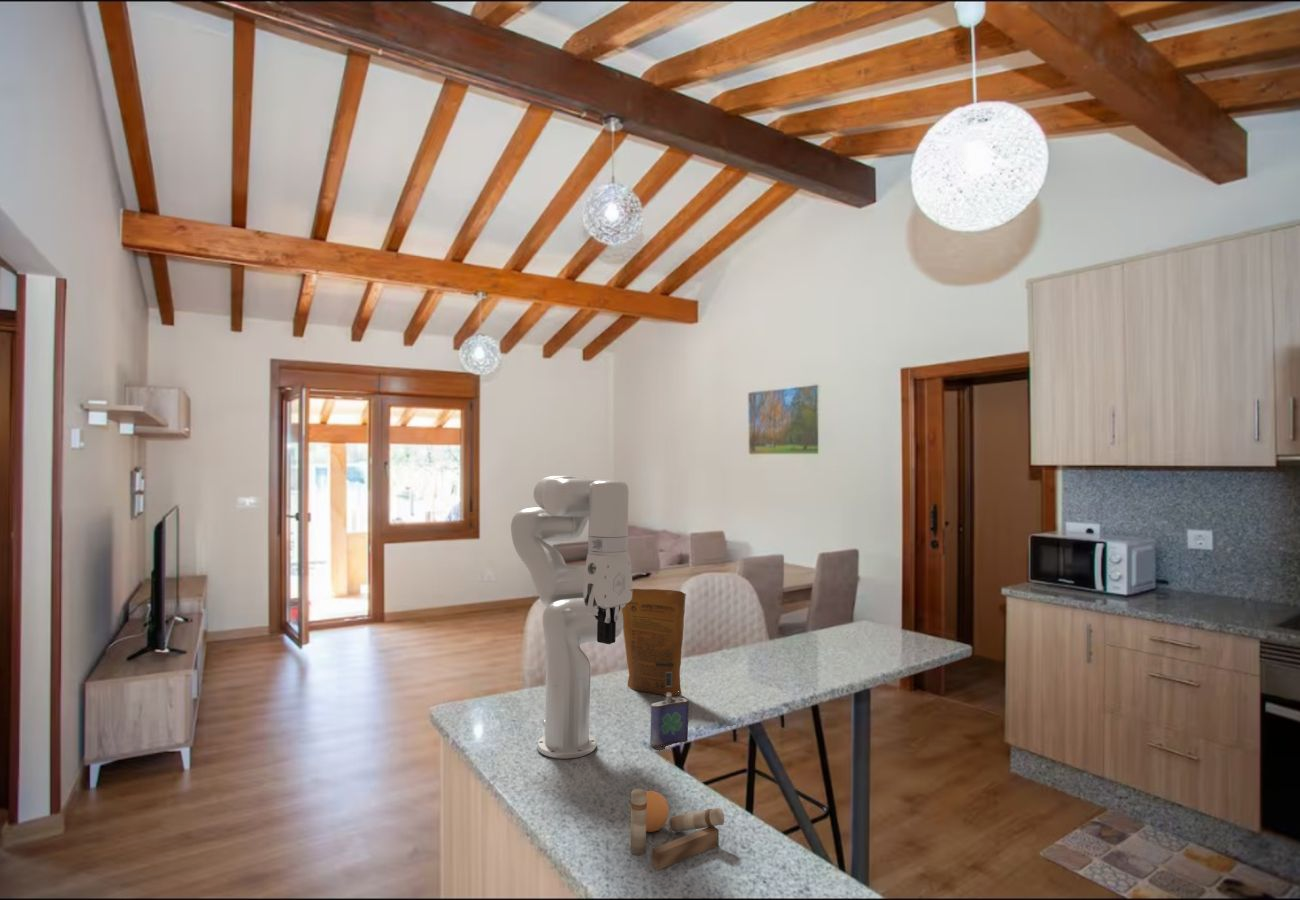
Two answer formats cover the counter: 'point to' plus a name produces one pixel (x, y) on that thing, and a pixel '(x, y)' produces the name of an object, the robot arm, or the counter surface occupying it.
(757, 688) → the counter surface
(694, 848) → the back rail
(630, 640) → the pancake mix bag
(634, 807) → the pin side
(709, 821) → the pin
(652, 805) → the ball
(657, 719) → the flask
